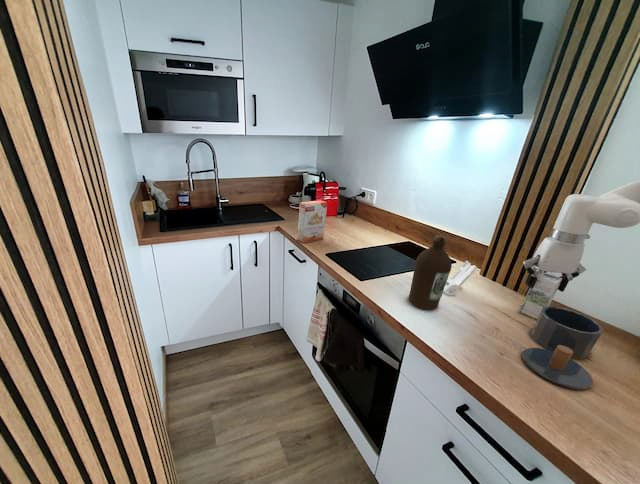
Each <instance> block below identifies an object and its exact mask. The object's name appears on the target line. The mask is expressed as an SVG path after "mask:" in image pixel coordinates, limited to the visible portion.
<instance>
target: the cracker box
mask: <svg viewBox="0 0 640 484" xmlns="http://www.w3.org/2000/svg"><path fill="white" fill-rule="evenodd" d="M327 208H328V202H327V201H325V200H311V201H301V202H299V209H298V223H297V224H298V227H297V241H299V242H300V243H302V244H304V243H309V242H315V241H320V240H324V235H325V226H326V217H327Z"/></svg>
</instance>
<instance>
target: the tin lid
mask: <svg viewBox="0 0 640 484" xmlns="http://www.w3.org/2000/svg"><path fill="white" fill-rule="evenodd" d="M572 354H573V351H572V350H571V349H570V348H568V347H566V346H563V345H558V346H557V347H556V349H555V351H554V352H553V351H550V350H548V349H546V348H542V347H529V348H525V349H524V350H523V352H522V354H521V355H522V356H521V358H522V360H523V362H524V363H525V365H527V366H528V367H529V368H530V370H532V371H533V372H535V373H536V374H537V375H539V376H540V377H542V378H544V379H545V380H548V381H550V382H551V383H554V384H556V385H559V386H561V387H564V388H569V389H573V390H588V389H590V388H591V387H592V386H593V383H594V380H593V377H592V375H591V374H590V373H589V372H588V371H587V370H586V368H585V367H583V366H582V365H580V364H579V363H578V362H576V361H574V360H573V359H572V358H571V356H572Z"/></svg>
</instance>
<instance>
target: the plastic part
mask: <svg viewBox="0 0 640 484" xmlns="http://www.w3.org/2000/svg"><path fill="white" fill-rule="evenodd" d="M471 265H472V263H471V262H469V261H468V260H465V262H464V263H463V264H462V266H461V268H460V269H458V270H457V271H456V272H455V273H454V274H453V276H451V277H449V278H448V279H447V281H446V284H445V287H444V290H443V293H445V294H446V295H448V296H453V295H455V294H456V293H457V292H458V291H459V289H460V288H461V287H462V286H463V285H464V284H465V282H466V281H467V280H468V279H469V278H470V277H471V275H473V273H474V272H475V271H476V270H477V269H478V266H477V265H476V264H475V265H474V264H473V265H472V266H471ZM470 266H471V267H470Z"/></svg>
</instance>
